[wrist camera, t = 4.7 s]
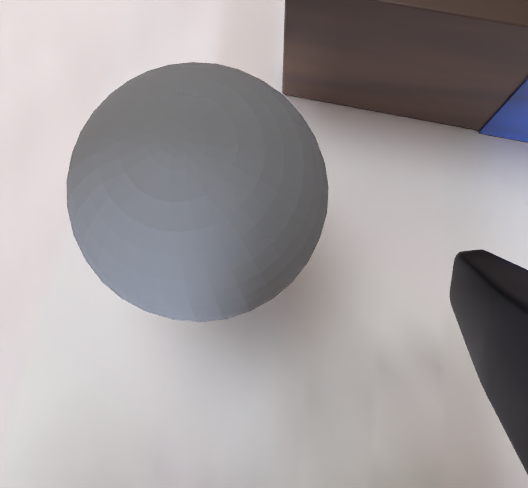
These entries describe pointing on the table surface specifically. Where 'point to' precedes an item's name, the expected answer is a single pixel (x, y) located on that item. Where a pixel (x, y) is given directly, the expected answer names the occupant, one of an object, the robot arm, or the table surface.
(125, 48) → the table surface
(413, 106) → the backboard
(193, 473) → the table surface
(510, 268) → the robot arm
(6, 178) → the table surface
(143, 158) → the light bulb
